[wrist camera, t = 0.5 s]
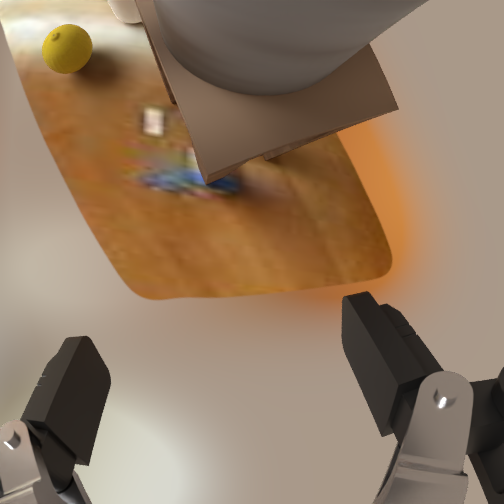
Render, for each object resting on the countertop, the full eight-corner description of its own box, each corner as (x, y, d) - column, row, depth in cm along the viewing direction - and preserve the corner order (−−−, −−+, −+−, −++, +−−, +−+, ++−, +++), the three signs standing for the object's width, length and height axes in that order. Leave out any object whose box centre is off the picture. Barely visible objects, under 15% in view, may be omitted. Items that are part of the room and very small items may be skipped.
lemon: (105, 41, 27) (85, 10, 19) (93, 81, 28) (67, 56, 20) (67, 44, 26) (41, 17, 18) (54, 82, 27) (24, 62, 19)
